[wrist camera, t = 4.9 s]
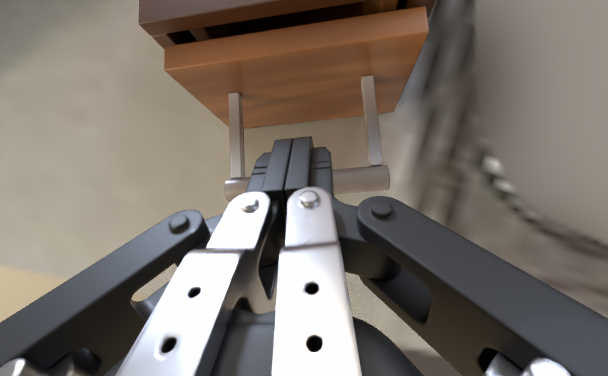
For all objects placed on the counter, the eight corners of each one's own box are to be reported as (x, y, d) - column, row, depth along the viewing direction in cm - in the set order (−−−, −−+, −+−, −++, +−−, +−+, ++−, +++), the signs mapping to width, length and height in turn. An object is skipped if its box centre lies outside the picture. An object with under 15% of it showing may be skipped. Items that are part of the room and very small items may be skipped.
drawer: (403, 197, 18) (450, 175, 10) (233, 210, 19) (162, 199, 12) (374, -60, 21) (392, -229, 13) (228, -32, 22) (167, -170, 14)
